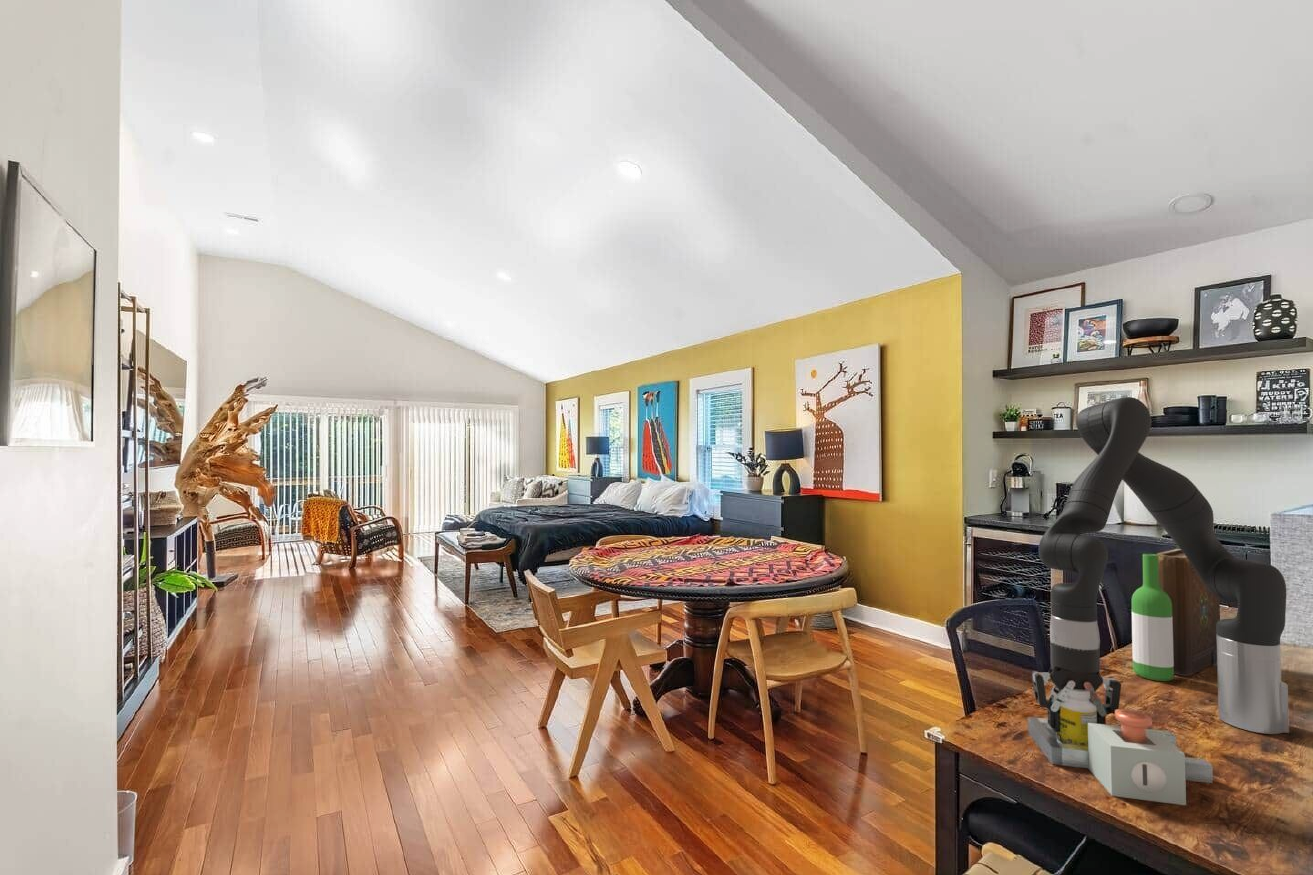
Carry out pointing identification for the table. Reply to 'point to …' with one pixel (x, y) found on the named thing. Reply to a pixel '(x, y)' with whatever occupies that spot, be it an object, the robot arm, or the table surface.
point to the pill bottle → (1076, 718)
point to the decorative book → (1189, 613)
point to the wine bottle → (1152, 626)
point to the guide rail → (1079, 754)
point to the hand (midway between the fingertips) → (1076, 731)
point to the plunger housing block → (1137, 765)
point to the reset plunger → (1133, 725)
